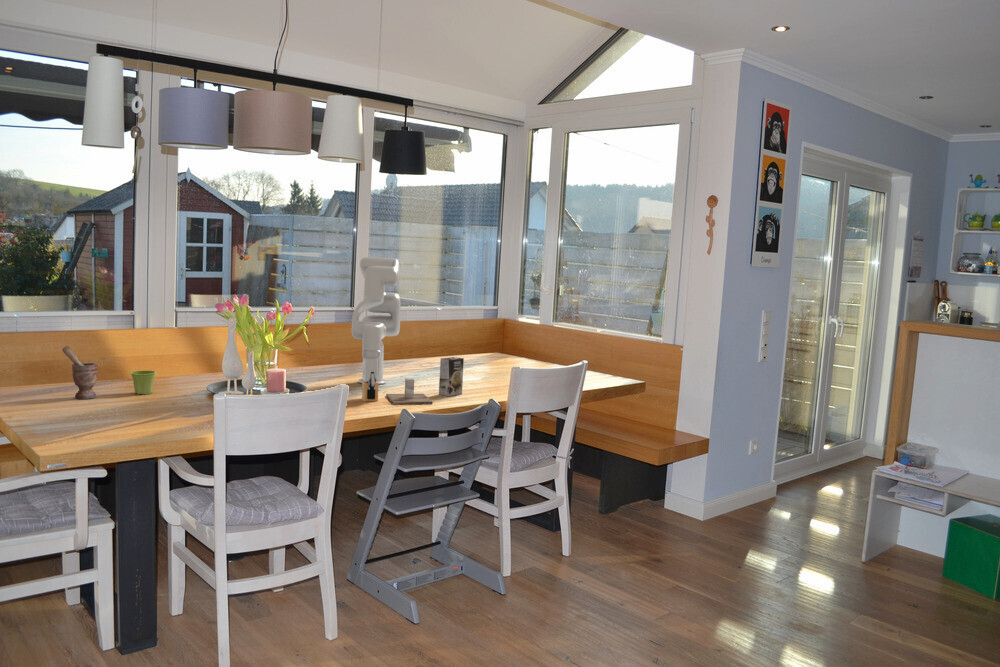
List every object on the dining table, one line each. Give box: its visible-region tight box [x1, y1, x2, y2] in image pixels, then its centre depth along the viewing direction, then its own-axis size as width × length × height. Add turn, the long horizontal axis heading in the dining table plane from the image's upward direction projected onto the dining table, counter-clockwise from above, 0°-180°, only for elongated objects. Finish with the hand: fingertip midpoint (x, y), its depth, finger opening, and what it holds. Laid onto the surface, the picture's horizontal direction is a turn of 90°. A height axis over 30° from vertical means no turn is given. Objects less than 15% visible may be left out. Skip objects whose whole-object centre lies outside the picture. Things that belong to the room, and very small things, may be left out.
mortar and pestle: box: [62, 345, 98, 400], centre depth 294 cm, size 12×9×20 cm
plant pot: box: [130, 370, 157, 395], centre depth 308 cm, size 9×9×9 cm
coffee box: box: [438, 356, 465, 397], centre depth 338 cm, size 9×6×16 cm
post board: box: [385, 377, 433, 406], centre depth 321 cm, size 18×16×9 cm
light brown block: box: [361, 380, 380, 402], centre depth 318 cm, size 6×6×8 cm
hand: (369, 396), depth 318 cm, fingers closed on light brown block, 5 cm apart
